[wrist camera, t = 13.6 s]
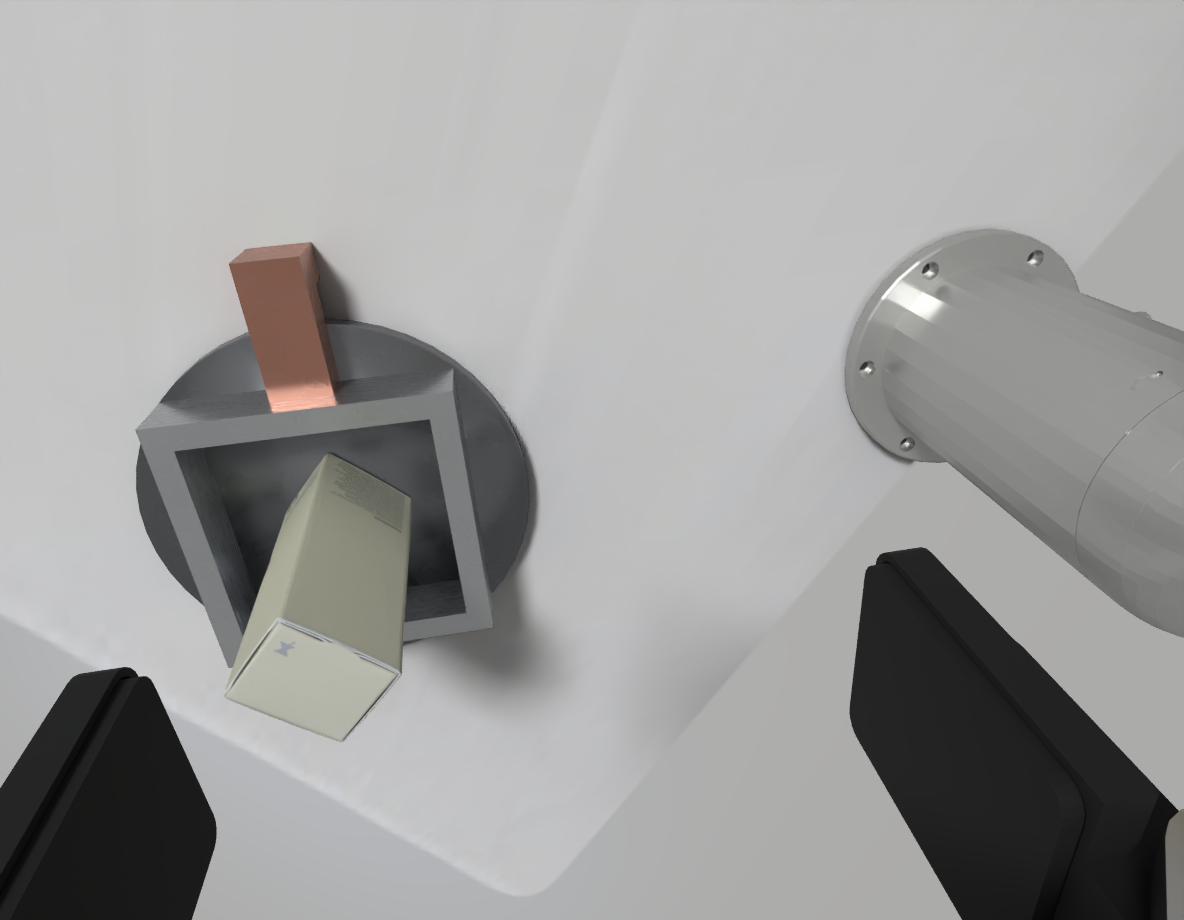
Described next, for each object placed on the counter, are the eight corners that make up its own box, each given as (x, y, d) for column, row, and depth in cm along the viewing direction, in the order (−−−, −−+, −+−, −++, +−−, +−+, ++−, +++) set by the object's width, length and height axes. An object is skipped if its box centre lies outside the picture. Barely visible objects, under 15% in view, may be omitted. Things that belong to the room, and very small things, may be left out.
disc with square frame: (494, 223, 35) (497, 241, 31) (544, 613, 45) (551, 659, 42) (51, 268, 33) (2, 293, 29) (211, 663, 43) (189, 716, 40)
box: (283, 511, 39) (208, 697, 27) (329, 447, 37) (270, 614, 26) (376, 559, 41) (341, 750, 29) (422, 499, 39) (405, 675, 28)
